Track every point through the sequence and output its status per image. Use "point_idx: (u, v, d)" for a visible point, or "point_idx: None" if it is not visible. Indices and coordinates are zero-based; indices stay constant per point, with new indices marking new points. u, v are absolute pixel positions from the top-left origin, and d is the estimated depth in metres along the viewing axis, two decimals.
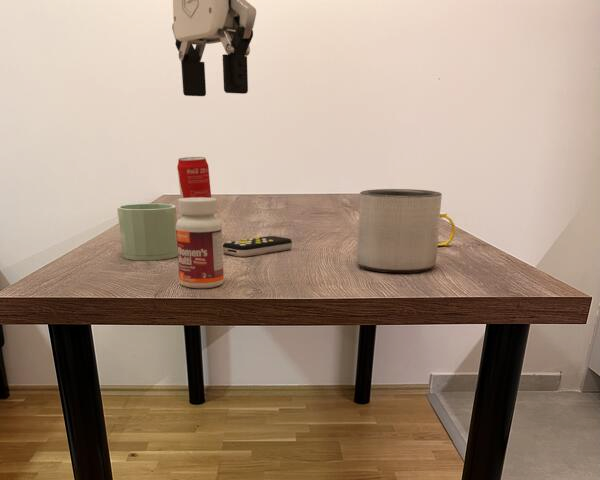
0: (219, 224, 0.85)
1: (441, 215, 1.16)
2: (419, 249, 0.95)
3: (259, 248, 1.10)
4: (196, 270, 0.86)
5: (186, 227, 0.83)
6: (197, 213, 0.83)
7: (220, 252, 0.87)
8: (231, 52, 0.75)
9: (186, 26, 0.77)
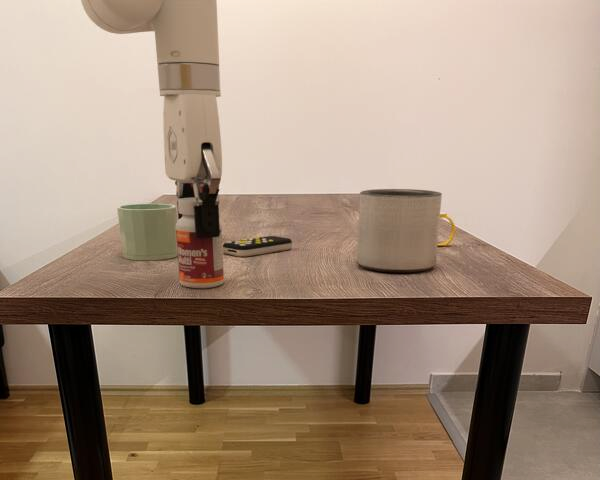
0: (219, 224, 0.85)
1: (441, 215, 1.16)
2: (419, 249, 0.95)
3: (259, 248, 1.10)
4: (196, 270, 0.86)
5: (186, 227, 0.83)
6: None
7: (220, 252, 0.87)
8: (200, 205, 0.81)
9: (171, 169, 0.83)
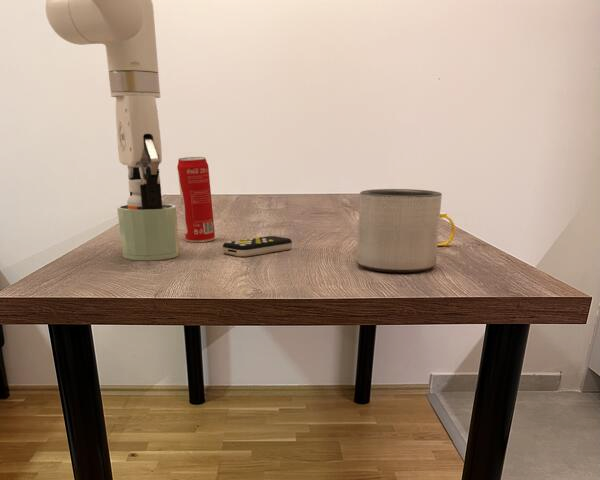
0: (163, 200, 1.05)
1: (441, 215, 1.16)
2: (419, 249, 0.95)
3: (259, 248, 1.10)
4: None
5: (134, 203, 1.03)
6: None
7: None
8: (144, 184, 1.00)
9: (122, 155, 1.03)
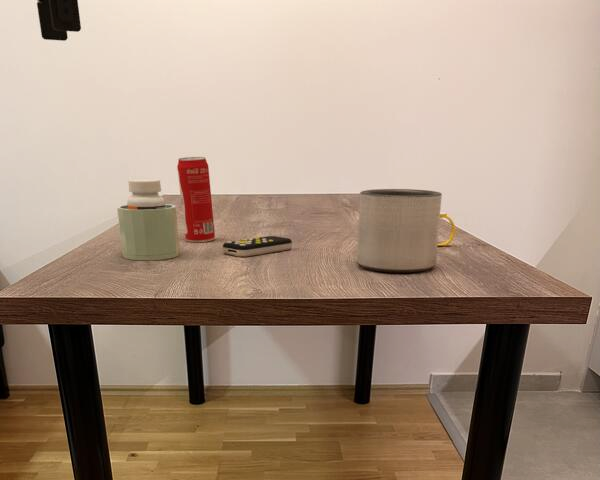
0: (163, 200, 1.05)
1: (441, 215, 1.16)
2: (419, 249, 0.95)
3: (259, 248, 1.10)
4: None
5: (134, 203, 1.03)
6: (143, 191, 1.03)
7: None
8: None
9: None
